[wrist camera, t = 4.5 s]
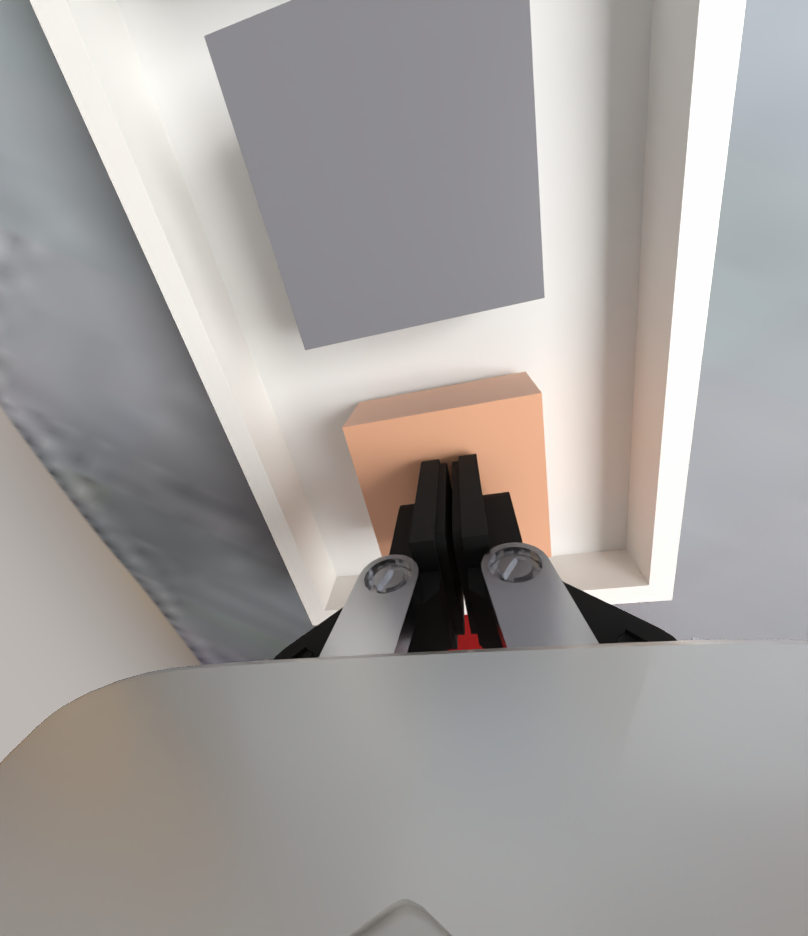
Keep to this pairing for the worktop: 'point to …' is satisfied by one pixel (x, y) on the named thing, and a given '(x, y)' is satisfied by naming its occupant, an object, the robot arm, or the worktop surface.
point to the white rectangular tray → (461, 338)
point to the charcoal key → (389, 157)
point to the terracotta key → (454, 448)
